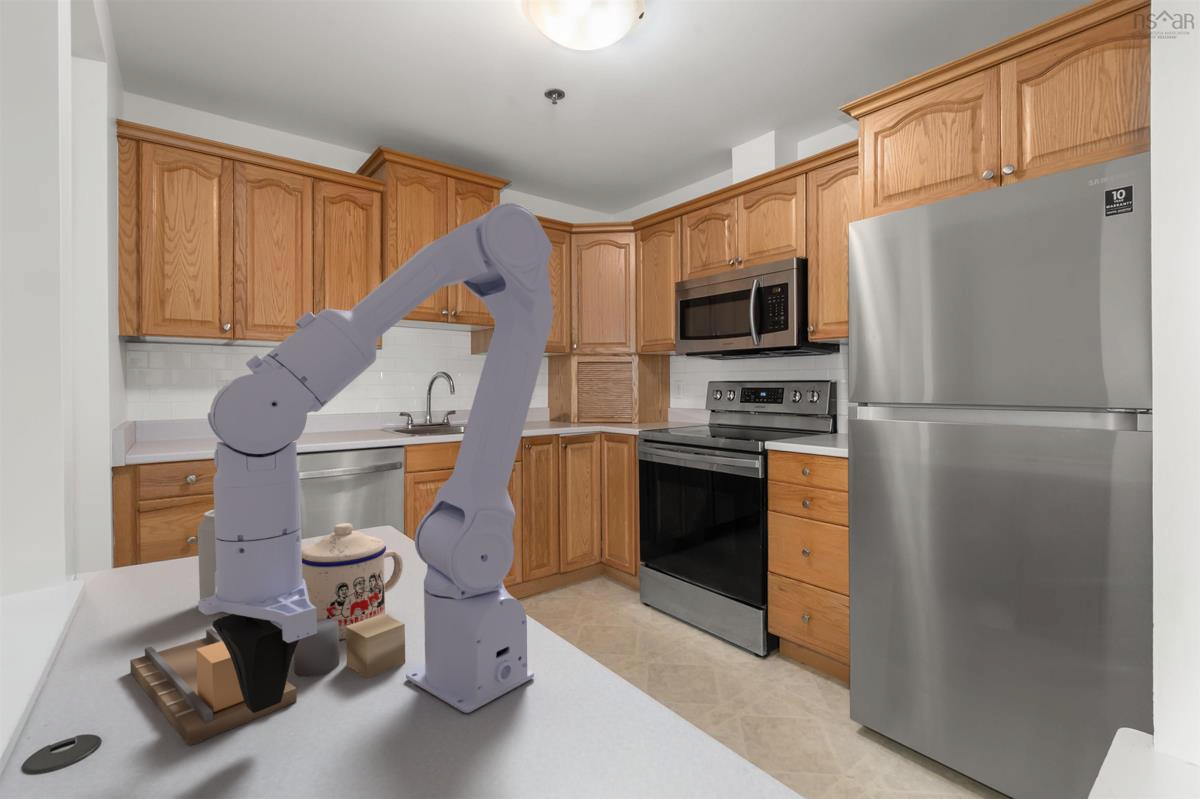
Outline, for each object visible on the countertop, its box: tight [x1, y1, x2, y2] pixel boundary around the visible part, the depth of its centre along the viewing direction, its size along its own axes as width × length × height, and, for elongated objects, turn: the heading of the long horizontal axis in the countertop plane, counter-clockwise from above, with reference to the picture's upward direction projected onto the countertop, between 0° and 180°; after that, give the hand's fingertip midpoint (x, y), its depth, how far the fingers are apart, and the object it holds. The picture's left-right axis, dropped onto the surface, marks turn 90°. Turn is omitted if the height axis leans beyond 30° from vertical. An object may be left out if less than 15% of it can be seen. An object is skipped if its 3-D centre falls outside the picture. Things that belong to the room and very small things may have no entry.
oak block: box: [345, 613, 406, 679], centre depth 58 cm, size 4×4×4 cm
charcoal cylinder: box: [293, 619, 340, 678], centre depth 57 cm, size 4×4×4 cm
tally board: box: [129, 628, 298, 747], centre depth 54 cm, size 18×8×2 cm, turn 50°
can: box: [197, 509, 216, 600], centre depth 74 cm, size 8×8×12 cm
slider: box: [196, 641, 244, 712], centre depth 50 cm, size 4×4×4 cm
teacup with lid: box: [302, 522, 404, 640], centre depth 68 cm, size 12×9×12 cm
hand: (264, 704), depth 45 cm, fingers closed
